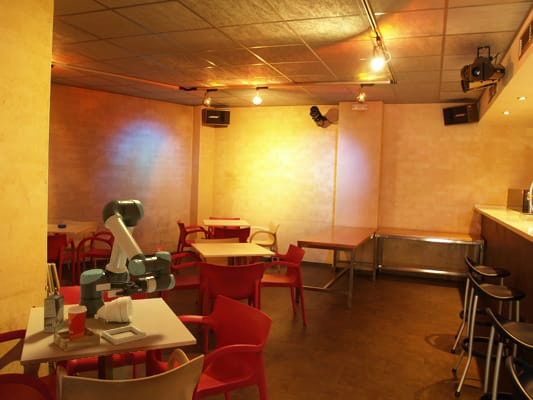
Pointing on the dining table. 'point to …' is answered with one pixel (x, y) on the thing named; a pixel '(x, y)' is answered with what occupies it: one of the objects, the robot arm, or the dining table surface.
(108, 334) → the tray
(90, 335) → the tray
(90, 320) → the dining table surface
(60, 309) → the coffee box
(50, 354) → the dining table surface
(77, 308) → the coffee cup
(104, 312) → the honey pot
